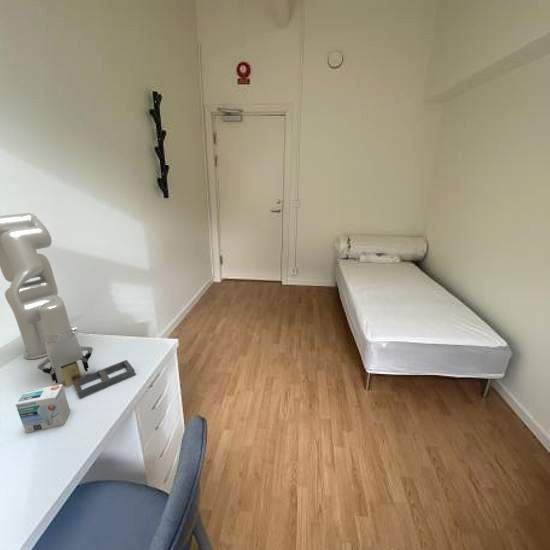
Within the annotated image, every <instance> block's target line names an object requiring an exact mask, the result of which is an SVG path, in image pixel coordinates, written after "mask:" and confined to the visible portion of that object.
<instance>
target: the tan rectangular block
mask: <svg viewBox="0 0 550 550" xmlns="http://www.w3.org/2000/svg"><path fill="white" fill-rule="evenodd" d="M59 368H60V371H61V374H62V378H63V381H64V382H63V383H65V385H66V388H69V387H72V386H74V385H73V382H72V381H74V380H76V379H79V378H81V377H82V375H81V372H80V369H79V364H78V361H75V362H73V363H70V364H67V365H64V366H62V367H59Z"/></svg>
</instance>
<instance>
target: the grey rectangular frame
mask: <svg viewBox="0 0 550 550" xmlns="http://www.w3.org/2000/svg"><path fill="white" fill-rule="evenodd" d="M122 369H125V370H126V371H124V372H121V373H119V374H117V375H114V376H112V377H109V375H110V374H112V373H114V372H118V371H120V370H122ZM134 376H136V372H135V368H134V367H133V366H132V365H131V363H129V361H128V360H127V359H125V360H123V361H122V360H121V361H120V362H118V363H114V364H113V365H110V366H107V367H105V368H102V369H99V370H97V371H94V372H92V373H89V374H87V375H84V376H81V378H79V379H76V380H74V381H72V382H73V385H72V386H73V387H74V390H75V393H76V394H77V397H78V399H79V400H81V399H83V398H85V397H87V396H90V395H92V394H95V393H97V392H100V391H101V390H102V391H103V390H104V389H107V388H109V387H111V386H113V385H116V384H119V383H120V382H122V381H125V380H127V379H129V378H132V377H134ZM98 379H100V380H101V381H99V382H98V383H95V384H93V385H90V386H88V387H86V388H83V389H82V386H83V385H85V384H89V383H90V382H94V381H96V380H98Z"/></svg>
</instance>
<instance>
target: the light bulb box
mask: <svg viewBox="0 0 550 550" xmlns="http://www.w3.org/2000/svg"><path fill="white" fill-rule="evenodd" d="M65 391H66V390H65V389H64V385H63V384H62V383H61V384H60V383H59V384H56V385H50V386H45V387H40V388H34V389H29V390H24V393H23V394H22V395H21V396H20V398H19V400H18V401H17V403H16V404H15V407H16V410H17V412H18V415H19V418H20V420H21V424H22V427H23V429H24V432H25V434H27V433H31V432H33V433H34V432H38V431H42V430H47V429H51V428H52V429H53V428H57V427H58V428H59V427H64V425H65V423H66V421H67V419H68V417H69V415H70V413H71V408H70V406H69V405H70V404H69V402H68V399H67V395H66V392H65Z"/></svg>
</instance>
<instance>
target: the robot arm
mask: <svg viewBox="0 0 550 550" xmlns="http://www.w3.org/2000/svg"><path fill="white" fill-rule="evenodd" d="M52 244H53V243H52V237H51V234H50V232H49V230H48V229H47V227H46V226H45V225H44V223H43V222H41V220H40V219H39V218H38V217H37V216H36V215H35V214H33V213H30V212H29V213H16V214H7V215H0V271H1V273H2V276H3V277H4V280H6V281H7V282H9V283H10V285H9V288H7V289H6V290H5V292H4V297H5V299H6V301H7V303H8V305H9V307H10V309H11V310H12V313H13V315H14V318H15V320H16V323H17V326H18V329H19V332H20V335H21V338H22V341H23V345H24V347H25V350H24V352H23V354H22V356H23V358H24V359H25V360H36V359H41V358H44V357H46V358H45V359H44V360H42V361H41V362H40V363H39V364H37V369H38V370H39V371H41V372H42V373H44V374H47V375H50V377H51V380H52V382H55V384H56V385H58V384H59V381H58V377H57V373H56V370H57V369H58V368H60V367H62V366H64V365H67V364H70V363H73V362H75V361H76V362H78V361H81V363H82V367H83V369H84V371H85V372H86V373H87V372H89V370H88V368H90V366H89V359H90V358H91V356H92V352H93V347H92V346H82V345H81V344H80V341H79V339H78V337H77V335H76V334H75V332H77V327H72V326H71V323H70V320H69V316H68V313H67V309H66V306H65V302H64V300H63V299H62V297H60V296H59V295H58V294H59V291H58V287H57V286H58V285H57V283H56V279H55V275H54V272H53V269H52V265H51V263H50V261H49V259H48V258H47V256H46V255H44V254H43V253H38V252H37V250H40V249H41V250H42V249H46V248H49V247H50V246H51V245H52ZM34 278H39V279H36V280H31V281H29V280H30V279H34ZM83 351H84V352H86V353H85V355H84V354H83ZM47 364H50V367H46V366H47Z"/></svg>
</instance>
